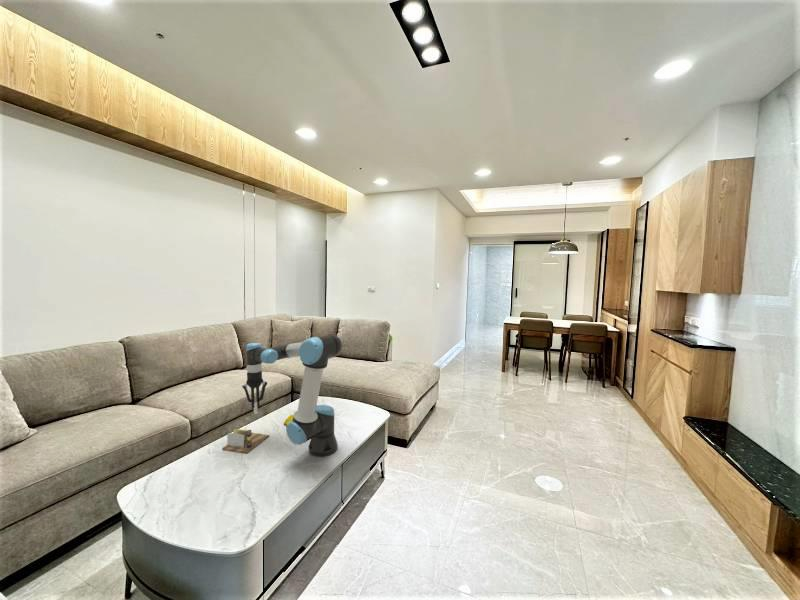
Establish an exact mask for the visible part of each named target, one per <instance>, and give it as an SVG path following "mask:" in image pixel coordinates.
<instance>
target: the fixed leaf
mask: <svg viewBox="0 0 800 600" xmlns="http://www.w3.org/2000/svg"><path fill="white" fill-rule="evenodd" d="M252 433H253V432H252V429H247V436H251V435H252ZM226 437H227V438H226V439H227V444H226V445H228V447H233V448H240V449H245V435H241V434H233V433H232V432H228V433H227V435H226ZM250 447H252V441H251V442H249V443H248V442H247V448H250Z"/></svg>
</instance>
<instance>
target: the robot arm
mask: <svg viewBox="0 0 800 600" xmlns="http://www.w3.org/2000/svg"><path fill="white" fill-rule="evenodd" d="M245 350H246V351H245V353H246V354H245V355H246V356H245V357H246V372H247V373H246V381H245V382H246V383H244V384H242V385H241V387H242V389H243V390H244V392H245V396H246V399H247V403H251V408H252V409H253V414H254V415H258V408H260V401H262V400H263V399H264V395H265V391H266V387H267V385H268V381H265V380H264V379H263V371H262V369H263V368H262V367H263V366H262V363H263V364H267V365H269V364H275V362H276V361H279V360H283V359H289V358H298V357H299V359H300V361H301V363H302V366H304V371H303V377H302V383H301V387H300V388H301V389H300V394H299V401H298V406H297V410H296V411H295V412H294V413H293V415H294V416H293V421H292V422H289V423H288V424H286V425H287V426H286V429H285V430H286V436H287V437H288V439H289V440H290V442H291V443H293V444H294V445H297V446H299V445H302V444H304V443H307V442H308V441H309V444H308V453H309V454H310V455H312V456H314V457H326V456H330V455H333V454H334V453H335V452H337V450H338V448H339V447H338V441H337V438H336V436H335V409H334V408H333V407H332V406H331V405H327V404H318V401H319V400H318V399H319V394H320V390H321V389H320V388H321V383H322V377H323V373H324V370H325V369H326V368H327V367H328V363H329V359H333V358H335V357H337V356H339V355H340V353H341V352H342V350H343V341H342V340H341V338H340V337H339V336H338V335H336V334H333V333H332V334H324V335H319V336H312V337H310V338H306V339H305V340H303V341H301V342H294V343H285V344H282V345H278V346H272V347H265V348H264V347H262V344H261V343H260V342H251V343H250V342H249V343H247V344H246V348H245ZM261 385H262V386H261ZM248 387H249V388H250V394H249V391H248ZM260 387H261V390H260ZM255 393H256V396H255ZM250 396H251V397H250ZM255 397H256V400H255Z"/></svg>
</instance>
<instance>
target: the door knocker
mask: <svg viewBox="0 0 800 600" xmlns="http://www.w3.org/2000/svg"><path fill="white" fill-rule="evenodd" d="M293 416H294V414H293V415H292V414H290V415H289V416H288V417H287V418H286V419H285V420H284V422H283V425H284V426H285V425H286V426H287V424H288V423H289V422H292V421H293Z"/></svg>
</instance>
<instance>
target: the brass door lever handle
mask: <svg viewBox="0 0 800 600" xmlns="http://www.w3.org/2000/svg"><path fill="white" fill-rule="evenodd" d="M247 430H248V429H247ZM247 430H246V429H239V428H238V429H237V428H234V429H233V430H232V431H233V434H241V435H245V443H246V444H247V442H248V443H249V442H251V441H252V435H251V436H247Z"/></svg>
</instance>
